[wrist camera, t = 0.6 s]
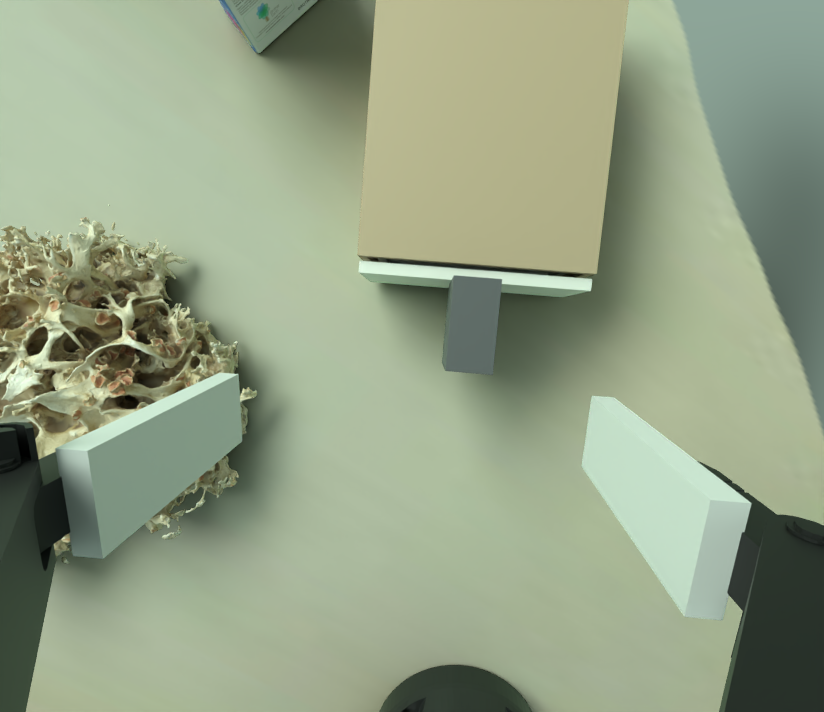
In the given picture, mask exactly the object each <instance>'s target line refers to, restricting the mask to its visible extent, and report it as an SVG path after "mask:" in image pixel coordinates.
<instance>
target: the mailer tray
mask: <svg viewBox="0 0 824 712" xmlns="http://www.w3.org/2000/svg"><path fill="white" fill-rule="evenodd" d="M377 259H378V260H379V261H380V262H371V261H360V262H359V273H360V274H361V275H363V276H364V277H365V278H366V279H368V280H369V281H370V282H378V283H391V284H403V285H416V286H428V287H441V288H449V290H448V302H447V313H446V324H445V335H444V346H443V357H442V364H443V366H444V369H445V371H454V372H465V373H476V374H488V375H493V368H494V358H495V348H496V337H497V327H498V317H499V307H500V297H501V292H503V293H515V294H528V295H540V296H552V297H566V296H570V295H575V294H579V293H584V292H588V291H591V286H592V279H586V278H574V277H561V276H563V275H565V274H568V273H562V272H549V271H536V270H523V269H511V268H498V267H485V266H472V265H460V264H447V263H434V262H421V261H409V260H396V259H383V258H377Z"/></svg>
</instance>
